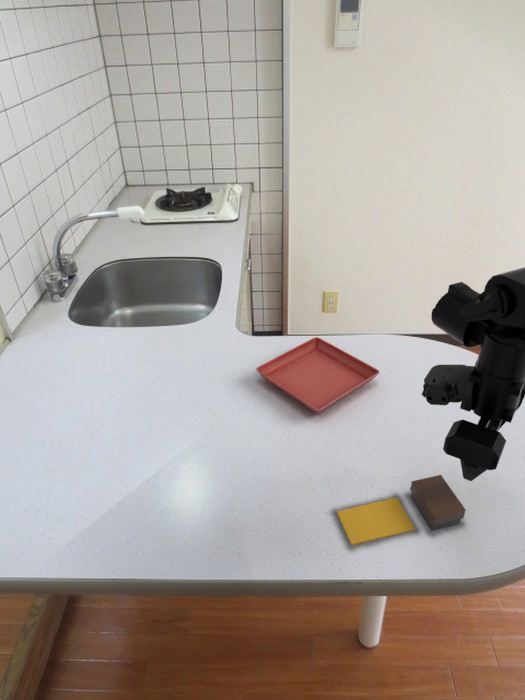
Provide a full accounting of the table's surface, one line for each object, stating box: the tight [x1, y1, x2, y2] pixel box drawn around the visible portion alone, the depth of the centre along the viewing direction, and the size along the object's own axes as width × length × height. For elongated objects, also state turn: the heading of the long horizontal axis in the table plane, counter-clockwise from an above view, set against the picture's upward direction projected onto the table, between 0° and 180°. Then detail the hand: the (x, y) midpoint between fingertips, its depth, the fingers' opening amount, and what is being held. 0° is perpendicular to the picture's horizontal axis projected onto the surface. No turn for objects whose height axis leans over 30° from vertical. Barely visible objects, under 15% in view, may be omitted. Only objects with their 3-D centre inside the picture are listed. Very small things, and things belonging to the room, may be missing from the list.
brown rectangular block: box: [409, 474, 466, 532], centre depth 79 cm, size 7×5×4 cm
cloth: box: [336, 497, 416, 546], centre depth 79 cm, size 10×6×1 cm, turn 104°
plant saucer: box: [255, 336, 380, 414], centre depth 106 cm, size 18×18×3 cm
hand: (477, 457), depth 72 cm, fingers open, 9 cm apart
